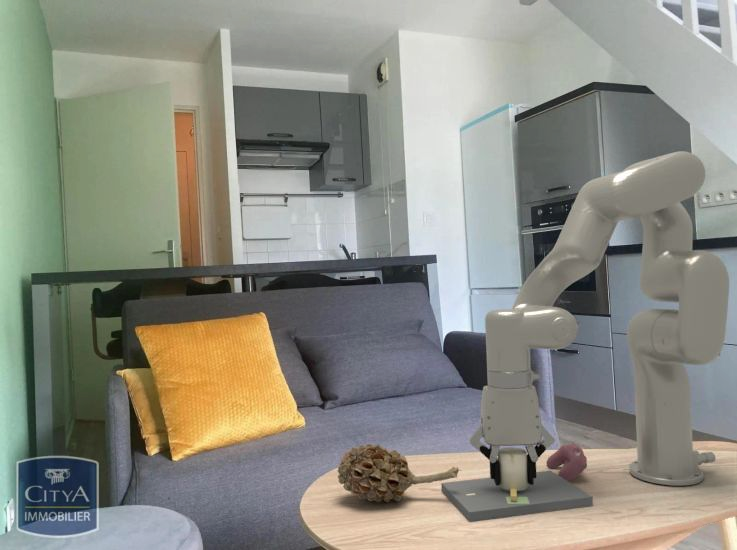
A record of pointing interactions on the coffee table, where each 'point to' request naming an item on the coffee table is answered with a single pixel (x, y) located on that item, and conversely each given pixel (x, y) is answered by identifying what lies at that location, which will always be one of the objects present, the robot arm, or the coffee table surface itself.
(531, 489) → the dial board
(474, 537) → the coffee table surface
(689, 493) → the coffee table surface
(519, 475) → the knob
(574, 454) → the video game controller
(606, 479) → the coffee table surface
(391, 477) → the pine cone
